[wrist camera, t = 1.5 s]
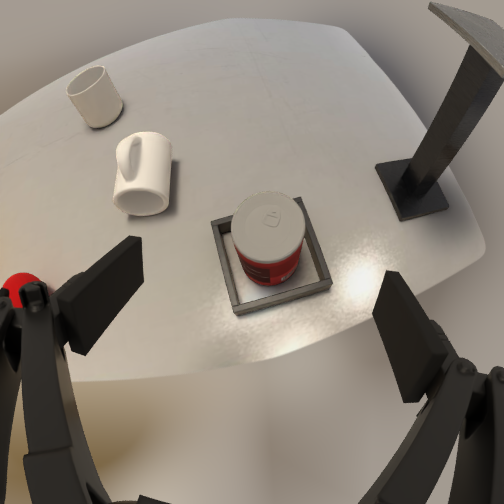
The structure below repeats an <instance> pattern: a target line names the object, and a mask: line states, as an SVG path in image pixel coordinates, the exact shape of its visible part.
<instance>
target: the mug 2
mask: <svg viewBox="0 0 504 504" xmlns="http://www.w3.org/2000/svg"><path fill="white" fill-rule="evenodd" d="M116 159H117V163H118V170H117V176H116V182H115V188H114V195H113V203H114V205H115V206H116V207H117V208H118V209H119V210H121V211H122V212H125V213H127V214H131V215H136V216H149V215H155V214H158V213H160V212H162V211H164V210H165V209H166V208H167V207H168V204H169V190H170V174H171V160H172V145H171V143H170V141H169V140H168V139H167V138H166V137H164V136H163V135H161V134H158V133H155V132H138V133H135V134H132V135H130V136H129V137H127V138H125V139H123V140H122V141H121V142H120V143H119V144H118V146H117V149H116Z"/></svg>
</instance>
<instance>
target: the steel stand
mask: <svg viewBox="0 0 504 504" xmlns="http://www.w3.org/2000/svg"><path fill="white" fill-rule="evenodd" d="M428 9H429V10H430V11H432V12H433V13H434V14H435V15H437V16H438V17H439V18H440V19H441V20H443V21H444V22H445V23H446V24H448V25H449V26H450V27H451V28H452V29H454V30H455V31H456V32H457V33H458V34H459V35H460V36H461V37H462V38H463V39H465V40H466V41H467V42H468V43H469V44H470V45H469V47H468V50H467V52H466V54H465V57H464V59H463V61H462V63H461V65H460V68H459V70H458V72H457V74H456V76H455V79H454V81H453V82H452V85H451V87H450V89H449V91H448V93H447V95H446V97H445V99H444V101H443V103H442V105H441V107H440V109H439V111H438V112H437V114H436V116H435V118H434V120H433V122H432V124H431V126H430V127H429V129H428V131H427V133H426V135H425V137H424V138H423V140H422V142H421V144H420V145H419V147H418V149H417V151H416V153H415V154H414V156H413V158H410V159H404V160H397V161H391V162H385V163H379V164H376V166H375V168H376V170H377V172H378V175H379V177H380V179H381V181H382V183H383V185H384V187H385V189H386V191H387V193H388V195H389V198H390V200H391V202H392V204H393V207H394V209H395V211H396V213H397V216H398V218H399V220H400V221H403V220H407V219H411V218H415V217H419V216H423V215H427V214H430V213H434V212H438V211H442V210H446V209H448V208H449V204H448V202H447V200H446V198H445V196H444V194H443V192H442V190H441V188H440V186H439V184H438V182H437V179H438V178H439V177H440V176H441V174H442V173H443V172H444V170H445V169H446V168H447V166H448V165H449V163H450V162H451V161H452V159H453V158H454V156H455V155H456V154H457V152H458V151H459V149H460V148H461V147H462V145H463V144H464V142H465V141H466V139H467V138H468V137H469V135H470V134H471V132H472V130H473V129H474V128H475V126H476V125H477V123H478V122H479V120H480V119H481V117H482V116H483V114H484V112H485V111H486V109H487V108H488V106H489V105H490V103H491V102H492V100H493V98H494V97H495V95H496V93H497V92H498V90H499V88H500V86H501V85H502V83H503V82H504V30H503V29H502V28H501V27H500V26H499V25H498V24H497V23H495V22H494V21H493V20H491V19H488V18H485V17H482V16H479V15H476V14H473V13H470V12H467V11H464V10H460V9H457V8H453V7H449V6H445V5H442V4H438V3H433V2H430V3H429V6H428Z"/></svg>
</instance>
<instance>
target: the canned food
mask: <svg viewBox="0 0 504 504" xmlns="http://www.w3.org/2000/svg"><path fill="white" fill-rule="evenodd" d="M304 234H305V219H304V215H303V212H302V210H301V208H300V207H299V205H298V204H297V203H296V202H295V201H294V200H293V199H291V198H290V197H288V196H287V195H284V194H282V193H278V192H270V191H267V192H260V193H257V194H254V195H252V196H250V197H248V198H247V199H246V200H244V201H243V202H242V203H241V204H240V205H239V206H238V208H237V209H236V211H235V213H234V215H233V218H232V222H231V235H232V239H233V242H234V246H235V249H236V251H237V254H238V257H239V259H240V262H241V265H242V267H243V270H244V271H245V273H246V275H247V276H248V277H249V278H250V279H251V280H253V281H254V282H256V283H258V284H261V285H267V286H271V285H277V284H280V283H282V282H284V281H285V280H287V279H288V278H289V277H290V276H291V275H292V274H293V273H294V271H295V269H296V267H297V264H298V260H299V256H300V252H301V248H302V244H303V239H304Z"/></svg>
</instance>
